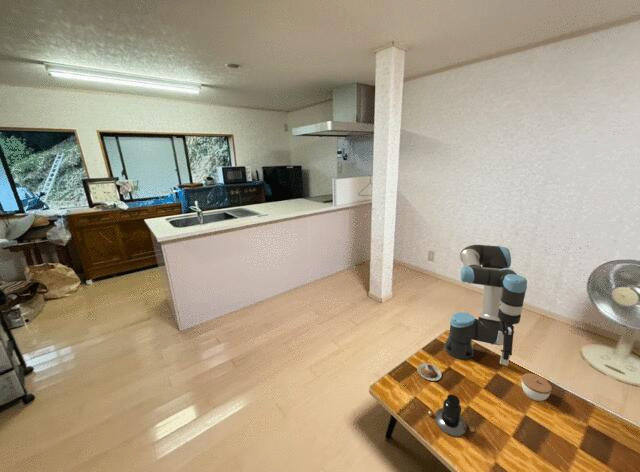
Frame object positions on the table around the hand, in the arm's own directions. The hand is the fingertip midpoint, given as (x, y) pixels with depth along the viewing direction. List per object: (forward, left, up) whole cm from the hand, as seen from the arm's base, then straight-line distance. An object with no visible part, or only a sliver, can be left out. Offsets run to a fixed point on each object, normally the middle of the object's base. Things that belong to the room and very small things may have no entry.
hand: (501, 353), depth 113 cm
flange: (+20, -17, -27) cm, 37 cm away
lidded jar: (-12, +17, -27) cm, 34 cm away
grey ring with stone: (-5, -28, -27) cm, 40 cm away
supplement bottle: (+20, -17, -26) cm, 37 cm away
